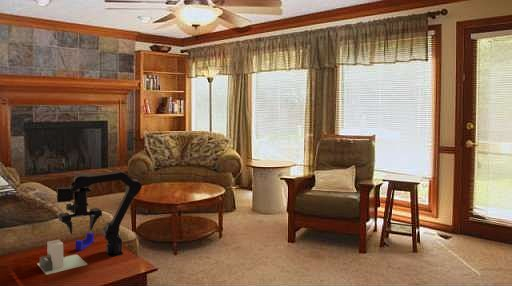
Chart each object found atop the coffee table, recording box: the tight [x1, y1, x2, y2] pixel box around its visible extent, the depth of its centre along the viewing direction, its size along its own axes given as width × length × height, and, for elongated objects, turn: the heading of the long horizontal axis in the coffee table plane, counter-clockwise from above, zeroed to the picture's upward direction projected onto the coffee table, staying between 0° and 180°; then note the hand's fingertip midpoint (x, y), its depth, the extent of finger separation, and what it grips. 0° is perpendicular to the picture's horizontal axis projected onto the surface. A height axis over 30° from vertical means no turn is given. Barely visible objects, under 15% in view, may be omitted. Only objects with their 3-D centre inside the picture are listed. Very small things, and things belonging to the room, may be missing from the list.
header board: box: [36, 254, 88, 276], centre depth 198 cm, size 18×14×5 cm
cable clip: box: [75, 232, 95, 252], centre depth 219 cm, size 12×4×6 cm, turn 171°
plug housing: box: [46, 239, 64, 269], centre depth 195 cm, size 5×6×11 cm
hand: (80, 232), depth 206 cm, fingers open, 9 cm apart
